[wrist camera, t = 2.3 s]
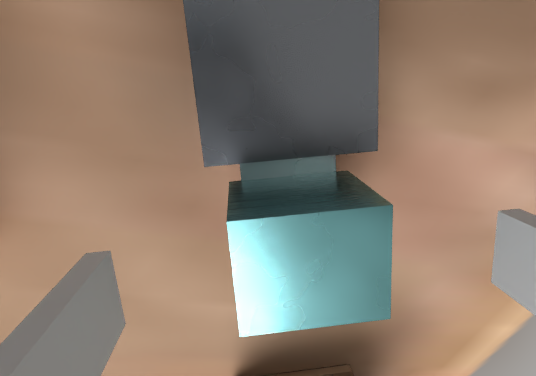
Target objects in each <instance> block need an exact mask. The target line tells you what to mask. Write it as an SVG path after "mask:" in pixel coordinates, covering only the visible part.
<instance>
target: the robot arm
mask: <svg viewBox="0 0 536 376" xmlns="http://www.w3.org/2000/svg"><path fill="white" fill-rule="evenodd" d="M491 282H492V283H493V284H494V285H495V286H497V287H498V288H499V289H501V290H502V291H503V292H505V293H506V294H507V295H509V296H510V297H511V298H513V299H514V300H515V301H517V302H518V303H519V304H521V305H522V306H523V307H525V308H526V309H527V310H529V311H530V312H531V313H532V314H534V315H535V316H536V215H533V214H531V213H528V212H526V211H524V210H521V209H511V210H502V211H498V217H497V227H496V238H495V248H494V258H493V268H492V278H491ZM125 324H126V323H125V319H124V314H123V309H122V304H121V300H120V295H119V290H118V285H117V281H116V276H115V271H114V266H113V262H112V257H111V252H110V251H103V252H93V253H86V254H85V255H84V256H83V257H82V258H81V259H80V260H79V261H78V262H77V263H76V264H75V265H74V267H73V268H72V269H71V270H70V271H69V272H68V273H67V274H66V275H65V276H64V277H63V278H62V279H61V280H60V281H59V283H58V284H57V285H56V286H55V287H54V288H53V289H52V290H51V291H50V292H49V293H48V294H47V295H46V296H45V297H44V298H43V300H42V301H41V302H40V303H39V304H38V305H37V306H36V307H35V308H34V309H33V310H32V311H31V312H30V313H29V314H28V316H27V317H26V318H25V319H24V320H23V321H22V322H21V323H20V324H19V325H18V326H17V327H16V328H15V329H14V330H13V331H12V333H11V334H10V335H9V336H8V337H7V338H6V339H5V340H4V341H3V342H2V343H1V344H0V376H101V374H102V372H103V370H104V368H105V366H106V364H107V361H108V359H109V357H110V355H111V353H112V351H113V349H114V347H115V345H116V343H117V341H118V339H119V337H120V335H121V333H122V330H123V328H124V326H125Z"/></svg>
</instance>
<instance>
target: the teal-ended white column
mask: <svg viewBox="0 0 536 376" xmlns="http://www.w3.org/2000/svg"><path fill="white" fill-rule="evenodd" d="M240 171H241V181H233V182H229V195H228V210H227V229H228V238H229V247H230V255H231V264H232V273H233V281H234V290H235V299H236V307H237V316H238V324H239V333H240V337H245V336H253V335H262V334H270V333H278V332H286V331H295V330H303V329H311V328H319V327H327V326H336V325H344V324H352V323H360V322H368V321H377V320H385V319H390V314H391V267H392V220H393V205H392V204H391V203H390V202H388V201H387V200H386V199H384V198H383V197H382V196H380V195H379V194H378V193H376V192H375V191H374V190H372V189H371V188H370V187H368V186H367V185H366V184H365V183H363V182H362V181H361V180H359V179H358V178H357V177H355V176H354V175H353V174H351V173H350V172H349V171H338V172H336V156H335V155H328V156H317V157H306V158H296V159H285V160H274V161H263V162H252V163H241V164H240Z"/></svg>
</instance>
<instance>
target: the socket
mask: <svg viewBox="0 0 536 376" xmlns="http://www.w3.org/2000/svg"><path fill="white" fill-rule="evenodd" d="M265 376H354V375H353V373H352V370H351V368H350V365H342V366H334V367H327V368H319V369H311V370H303V371H296V372H288V373H280V374H272V375H265Z"/></svg>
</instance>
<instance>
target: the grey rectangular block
mask: <svg viewBox="0 0 536 376" xmlns="http://www.w3.org/2000/svg"><path fill="white" fill-rule="evenodd" d="M183 4H184V11H185V19H186V27H187V35H188V43H189V50H190V58H191V66H192V74H193V82H194V89H195V97H196V105H197V113H198V121H199V129H200V136H201V144H202V152H203V160H204V167H209V166H220V165H231V164H241V163H252V162H263V161H274V160H285V159H296V158H306V157H317V156H328V155H339V154H350V153H361V152H371V151H378V57H379V0H183Z"/></svg>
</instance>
